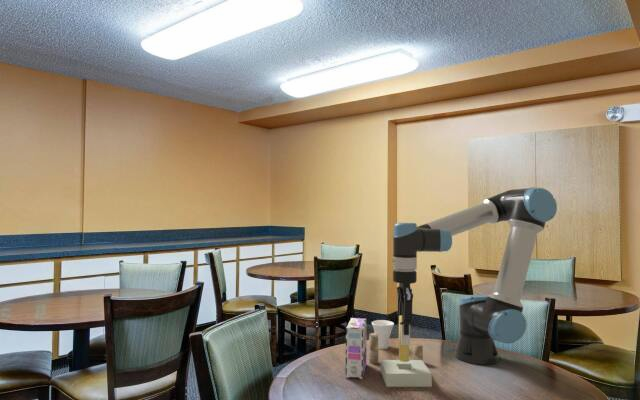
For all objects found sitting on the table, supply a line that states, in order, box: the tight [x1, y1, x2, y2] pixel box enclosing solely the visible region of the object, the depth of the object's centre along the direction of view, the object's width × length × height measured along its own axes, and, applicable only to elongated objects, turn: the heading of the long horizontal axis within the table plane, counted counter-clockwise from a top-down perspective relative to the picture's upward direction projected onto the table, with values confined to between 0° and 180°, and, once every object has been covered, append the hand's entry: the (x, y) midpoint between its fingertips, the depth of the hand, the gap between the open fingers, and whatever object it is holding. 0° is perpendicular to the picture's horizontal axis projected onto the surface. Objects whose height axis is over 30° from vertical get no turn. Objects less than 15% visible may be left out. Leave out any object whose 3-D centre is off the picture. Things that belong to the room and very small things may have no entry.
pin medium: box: [368, 332, 379, 365], centre depth 149 cm, size 3×3×10 cm
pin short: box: [413, 343, 424, 362], centre depth 150 cm, size 3×3×6 cm
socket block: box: [380, 359, 433, 388], centre depth 134 cm, size 14×12×4 cm
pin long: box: [398, 315, 410, 362], centre depth 135 cm, size 3×3×14 cm
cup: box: [371, 319, 395, 350], centre depth 166 cm, size 9×9×10 cm
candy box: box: [345, 317, 367, 380], centre depth 141 cm, size 14×6×16 cm, turn 168°
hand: (404, 342), depth 135 cm, fingers closed on pin long, 3 cm apart
